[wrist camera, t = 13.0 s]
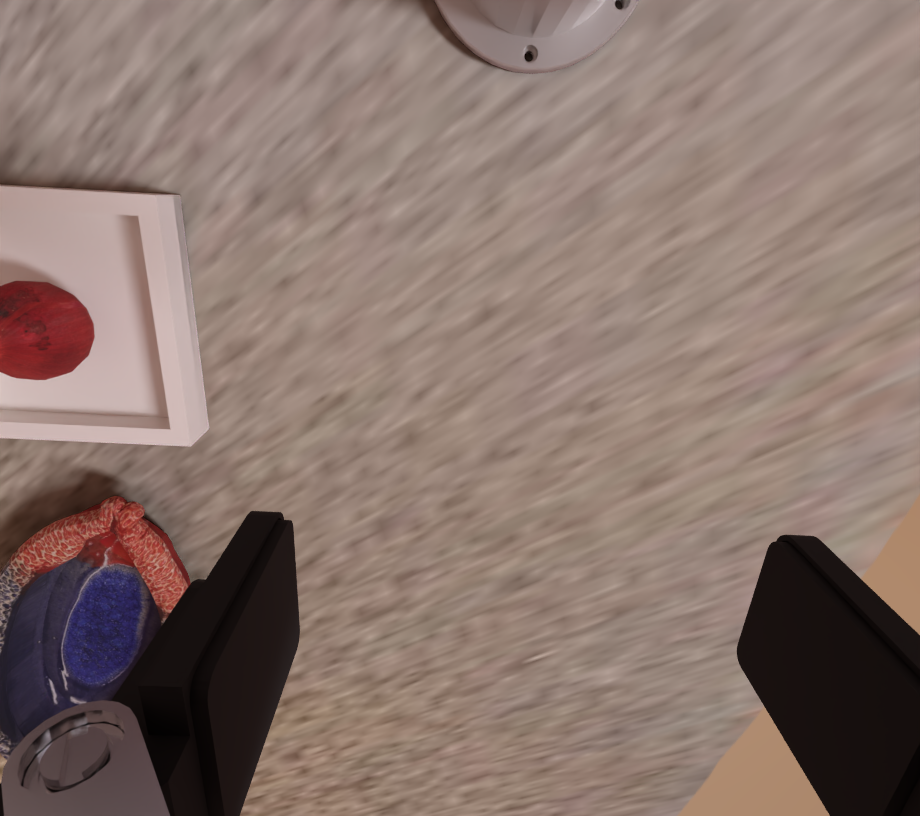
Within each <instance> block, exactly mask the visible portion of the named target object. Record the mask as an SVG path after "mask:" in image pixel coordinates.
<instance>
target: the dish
mask: <svg viewBox="0 0 920 816" xmlns="http://www.w3.org/2000/svg"><path fill="white" fill-rule="evenodd" d="M144 513H145V510H144V508H143V506H142V505H140V504H139V503H137V502H134V501H132V502H127V501H126V500H125V499H124V498H122V497H120V496H113V497H110V498H108V499H106V500H104V501H102V503H101V504H98V505H95V506H93V507H91V508H89V509H87V510H85V511H83V512H81V513H78V514H75V515H71V516H69V517H66V518H63V519H60V520H57V521H55V522H54V523H52V524H50V525H48V526H46V527H44V528H43V529H41V530H40V531H39V532H37V533H36V534H35V535H33V536H32V537H30V538H29V539H28V540H27V541H26V542H24V543H23V544H22V545H21V546H20V547H19V548H18V549H17V550H16V551H15V552H14V553H13V555H12V556H11V557H10V559H9V560H8V562H7V563H6V565H5V566H4V567H3V569H2V570H1V572H0V754H1V755H2V756H3V757H4V758H5V759H6V760H7V761H8V759H9V757H10V755H11V753H12V751H13V750H14V749H15V748H16V747H17V746H18V744H19V743H20V742H21V741H22V740H23V739H24V738H25V736H26V735H27V734H29V733H30V732H31V731H32V730H34V729H35V728H36V727H37V726H39V725H40V724H41V723H43V722H44V721H45V720H47V719H49V718H51V717H52V716H54V715H56V714H58V713H60V712H62V711H63V710H65V709H68V708H71V707H74V706H77V705H80V704H83V703H87V702H94V701H101V700H105V701H111V700H112V699H113V697H114V696H115V694H116V693H117V691H118V690H119V688H120V687H121V685H122V684H123V682H124V681H125V679H126V678H127V676H128V675H129V673H130V672H131V671H132V669H133V668H134V666H135V665H136V663H137V662H138V660H139V659H140V657H141V656H142V654H143V653H144V651H145V650H146V648H147V647H148V645H149V644H150V642H151V641H152V639H153V638H154V636H155V635H156V634H157V632H158V631H159V629H160V628H161V626H162V625H163V623H164V622H165V620H166V619H167V617H168V616H169V614H170V613H171V611H172V610H173V608H174V607H175V605H176V604H177V602H178V601H179V599H180V598H181V597H182V595H183V594H184V592H185V591H186V589H187V588H188V587H189V585H190V584H191V583H190V579H189V576H188V573H187V571H186V569H185V567H184V565H183V563H182V562H181V560H180V558H179V557H178V555H177V553H176V552H175V550H174V547H173V545H172V542H171V540H170V539H169V537H168V536H167V534H166V533H164V532H163V531H162V530H161V529H159V528H158V527H157V526H155V525H154V524H152V523H151V522H149V521H148V520H146V519H145V518H143V517H142V516H144Z"/></svg>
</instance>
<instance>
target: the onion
mask: <svg viewBox="0 0 920 816" xmlns="http://www.w3.org/2000/svg"><path fill="white" fill-rule="evenodd" d="M94 338H95V335H94V323H93V321H92V319H91V317H90V315H89V312H88V310H87V308H86V307H85V306H84V305H83V304H82V303H81V302H80V301H79V300H78V299H77V298H76V297H75V296H74V295H73V294H71V293H69V292H67V291H65V290H63V289H61V288H59V287H57V286H55V285H53V284H51V283H49V282H36V281H13V282H10V283H7V284H4V285H2V286H0V372H1V373H3V374H6V375H8V376H10V377H14V378H19V379H30V380H47V379H51V378H54V377H58V376H61V375H64V374H67V373H70V372H72V371H73V370H74V369H75V368H76V367H77V366H78V365H79V364H80V363H81V362H82V361H84V360H85V359H86V358H87V357H88V356H89V353H90V350H91V347H92V344H93V341H94Z"/></svg>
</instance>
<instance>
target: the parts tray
mask: <svg viewBox="0 0 920 816" xmlns="http://www.w3.org/2000/svg"><path fill="white" fill-rule="evenodd" d="M13 281H36V282H49V283H51V284H53V285H55V286H57V287H59V288H61V289H63V290H65V291H67V292H69V293H71V294H73V295H74V296H75V297H76V298H77V299H78V300H79V301H80V302H81V303H82V304H83V305H84V306H85V307H86V308H87V310H88V312H89V315H90V317H91V319H92V321H93V323H94V335H95V338H94V341H93V344H92V347H91V350H90V353H89V356H88V357H87V358H86V359H85V360H84V361H82V362H81V363H80V364H79V365H78V366H77V367H76V368H75V369H74V370H73V371H72V372H70V373H67V374H64V375H61V376H58V377H54V378H51V379H47V380H30V379H19V378H14V377H10V376H8V375H6V374H3V373H1V372H0V438H13V439H36V440H58V441H80V442H102V443H125V444H147V445H169V446H192V445H193V444H194V443H195V442H196V441H197V440H198V439H199V438H200V437H201V436H202V435H203V434H204V433H205V432H206V431H207V430H208V429H209V423H208V415H207V407H206V399H205V391H204V383H203V375H202V367H201V359H200V350H199V342H198V334H197V326H196V318H195V310H194V302H193V294H192V286H191V277H190V269H189V261H188V253H187V245H186V237H185V229H184V221H183V213H182V204H181V196H180V195H175V194H157V193H140V192H122V191H105V190H87V189H70V188H52V187H35V186H17V185H0V286H2V285H4V284H7V283H10V282H13Z"/></svg>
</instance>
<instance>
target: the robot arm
mask: <svg viewBox="0 0 920 816" xmlns="http://www.w3.org/2000/svg"><path fill="white" fill-rule="evenodd" d="M434 1H435V3H436V5H437V7H438V9H439V11H440V13H441V15H442V17H443V19H444V20H445V22H446V23H447V24H448V26H449V27H450V29H451V30H452V31H453V33H454V34H455V35H456V37H457V38H458V39H459V40H460V41H461V42H462V43H463V44H464V45H465V46H466V47H468V48H469V49H470V50H471V51H472V52H473V53H474V54H476V55H477V56H479V57H481V58H482V59H484V60H485V61H487V62H489V63H490V64H492V65H495V66H498V67H501V68H503V69H506V70H509V71H512V72H521V73H529V74H535V73H545V72H553V71H556V70H560V69H563V68H566V67H569V66H572V65H574V64H576V63H578V62H579V61H581V60H583V59H585V58H586V57H588V56H590V55H592V54H593V53H594V52H595V51H597V50H598V49H599V48H600V47H601V46H603V45H604V44H605V43H606V42H607V41H608V40H610V39H611V37H612V36H613V35H614V34H615V33H616V32H617V31H618V30H619V29H620V28H621V27H622V26H623V24H624V23H625V22H626V20H627V19H628V17H629V16H630V15H631V13H632V12H633V11H634V9H635V7H636V6H637V4H638V2H639V0H434ZM615 1H620V2H621V3H622V9H620V10H618V9H617V8H616V6H615ZM528 52H529V53H531V54H532V57H533V59H532V61H530V62H528V61H526V60H525V58H524V55H525V54H526V53H528ZM299 634H300V625H299V610H298V594H297V578H296V562H295V547H294V531H293V523H292V521H291V520H284V517H283V514H282V513H281V512H262V511H251V512H250V513H249V514H248V515H247V516H246V518H245V520H244V521H243V523H242V524H241V526H240V527H239V529H238V530H237V532H236V534H235V535H234V537H233V538H232V540H231V541H230V543H229V545H228V546H227V548H226V549H225V551H224V552H223V554H222V555H221V557H220V559H219V560H218V562H217V563H216V565H215V566H214V568H213V569H212V571H211V573H210V574H209V576H208V577H207V579H206V580H201V579H197V580H195V581H193V582H192V583H191V584H190V585H189V587H188V588H187V589H186V591H185V592H184V594H183V595H182V597H181V598H180V599H179V601H178V602H177V604H176V605H175V607H174V608H173V610H172V611H171V613H170V614H169V616H168V617H167V619H166V620H165V622H164V623H163V625H162V626H161V628H160V629H159V631H158V632H157V634H156V635H155V636H154V638H153V639H152V641H151V642H150V644H149V645H148V647H147V648H146V650H145V651H144V653H143V654H142V656H141V657H140V659H139V660H138V662H137V663H136V665H135V666H134V668H133V669H132V671H131V672H130V673H129V675H128V676H127V678H126V679H125V681H124V682H123V684H122V685H121V687H120V688H119V690H118V691H117V693H116V694H115V696H114V697H113V699H112V700H111V701H105V700H101V701H94V702H87V703H83V704H80V705H77V706H74V707H71V708H68V709H65V710H63V711H62V712H60V713H58V714H56V715H54V716H52V717H51V718H49V719H47V720H45V721H44V722H43V723H41V724H40V725H39V726H37V727H36V728H35V729H34V730H32V731H31V732H30V733H29V734H27V735H26V736H25V738H24V739H23V740H22V741H21V742H20V743H19V744H18V746H17V747H16V748H15V749H14V750H13V751H12V753H11V755H10V757H9V759H8V761H7V763H6V764H5V766H4V769H3V776H2V782H1V784H0V816H240V813H241V810H242V807H243V804H244V801H245V798H246V795H247V792H248V789H249V787H250V784H251V781H252V778H253V775H254V772H255V769H256V766H257V763H258V761H259V758H260V755H261V752H262V749H263V746H264V743H265V740H266V737H267V735H268V732H269V729H270V726H271V723H272V720H273V717H274V714H275V711H276V709H277V706H278V703H279V700H280V697H281V694H282V691H283V688H284V685H285V682H286V680H287V677H288V674H289V671H290V668H291V665H292V662H293V659H294V656H295V654H296V651H297V647H298V642H299ZM737 657H738V661H739V664H740V666H741V668H742V670H743V671H744V673H745V675H746V676H747V678H748V680H749V681H750V683H751V685H752V686H753V688H754V690H755V691H756V693H757V695H758V696H759V698H760V700H761V701H762V703H763V705H764V706H765V708H766V710H767V711H768V713H769V715H770V716H771V718H772V720H773V721H774V723H775V725H776V726H777V728H778V730H779V731H780V733H781V734H782V736H783V738H784V740H785V741H786V743H787V744H788V746H789V748H790V750H791V751H792V753H793V755H794V756H795V758H796V760H797V761H798V763H799V765H800V766H801V768H802V770H803V771H804V773H805V775H806V776H807V778H808V780H809V781H810V783H811V785H812V786H813V788H814V790H815V791H816V793H817V795H818V796H819V798H820V800H821V801H822V803H823V805H824V806H825V808H826V810H827V811H828V813H829V815H830V816H920V635H919V634H918V633H917V632H916V631H915V630H914V629H912V628H911V627H910V626H909V625H908V624H907V623H906V622H905V621H904V620H903V619H902V618H901V617H900V616H899V615H898V614H897V613H896V612H895V611H894V610H893V609H891V608H890V606H888V605H887V604H886V603H885V602H884V601H883V600H882V599H881V598H880V597H879V596H878V595H877V594H876V593H875V592H874V591H873V590H872V589H871V588H870V587H868V585H866V584H865V583H864V582H863V581H862V580H861V579H860V578H859V577H858V576H857V575H856V574H855V573H854V572H853V571H852V570H851V569H850V568H849V567H848V566H847V565H846V564H845V563H843V562H842V561H841V560H840V559H839V558H838V557H837V556H836V555H835V554H834V553H833V552H832V551H831V550H830V549H829V548H828V547H827V546H826V545H825V544H824V543H823V542H822V541H820V540H819V539H818V538H816V537H814V536H801V535H782V536H780V537H779V538H778V539H777V541H776V542H772V543H771V544H770V545H769V547H768V550H767V553H766V556H765V559H764V563H763V566H762V569H761V572H760V575H759V578H758V582H757V585H756V588H755V591H754V594H753V598H752V601H751V604H750V607H749V610H748V614H747V617H746V620H745V623H744V626H743V629H742V633H741V636H740V639H739V642H738V646H737Z"/></svg>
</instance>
